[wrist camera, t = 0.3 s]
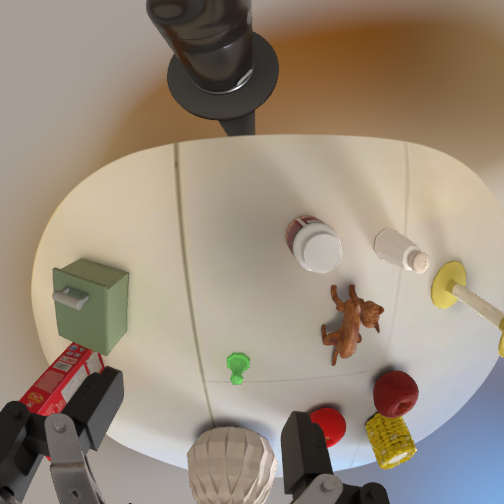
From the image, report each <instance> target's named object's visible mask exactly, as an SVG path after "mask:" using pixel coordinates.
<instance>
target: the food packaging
mask: <svg viewBox="0 0 504 504" xmlns="http://www.w3.org/2000/svg"><path fill="white" fill-rule="evenodd" d="M103 370H104V365H103V362H102V358H101V355H100V353H98V352H96V351H93V350H91V349H88V348H86V347H84V346H81V345H79V344H77V343H75V342H73V343H72V344H71V345H70V346H69V347H68V348H67V349H66V350H65V351H64V352H63V353H62V354H61V355H60V356H59V357H58V358H57V359H56V360H55V361H54V362H53V364H52V365H51V366H50V367H49V368H48V369H47V370H46V371H45V372H44V373H43V374H42V376H40V378H39V379H38V380H37V381H36V382H35V383H34V384H33V386H31V388H30V389H29V390H28V391H27V392H26V394H25V395H24V396H23V397H22V398H21V399H20V400H19V401H20V402H22V403H24V404H25V405H26V406H27V408H28V409H29V412H32V413H36V414H40V415H43V416H49V415H51V414H53V413H60V412H61V411H62V410H63V408H64V407H65V405H66V404H67V403H68V401H69V400H70V399H71V397H72V396H73V394H74V393H75V392H76V391H77V389H78V388H79V386H80V385H81V384H82V382H83V381H84V379H85V378H86V377H87V376H89V375H90V374H92V373H94V372H97V373H99V374H101V373H102V371H103ZM46 458H47V459H48V460H49V461H51V458H50V457H48V456H46Z"/></svg>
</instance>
